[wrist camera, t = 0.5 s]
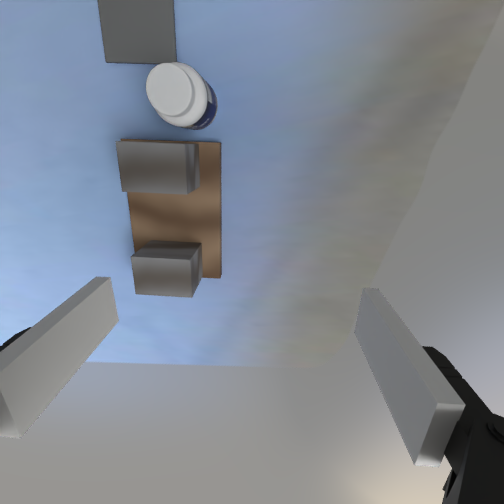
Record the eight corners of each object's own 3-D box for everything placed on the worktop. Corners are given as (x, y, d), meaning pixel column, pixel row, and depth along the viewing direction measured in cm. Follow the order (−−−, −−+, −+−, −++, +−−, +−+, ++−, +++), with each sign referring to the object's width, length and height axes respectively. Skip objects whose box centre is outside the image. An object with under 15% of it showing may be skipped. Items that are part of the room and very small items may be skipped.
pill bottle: (186, 137, 34) (156, 134, 25) (165, 91, 32) (124, 70, 23) (226, 118, 33) (210, 108, 24) (206, 70, 31) (181, 39, 22)
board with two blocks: (125, 138, 34) (90, 137, 28) (221, 142, 34) (209, 142, 27) (141, 270, 41) (116, 294, 34) (221, 274, 40) (212, 300, 34)
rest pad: (95, -29, 28) (93, -31, 28) (172, -28, 28) (170, -30, 28) (107, 62, 31) (105, 61, 31) (177, 64, 31) (175, 63, 31)
